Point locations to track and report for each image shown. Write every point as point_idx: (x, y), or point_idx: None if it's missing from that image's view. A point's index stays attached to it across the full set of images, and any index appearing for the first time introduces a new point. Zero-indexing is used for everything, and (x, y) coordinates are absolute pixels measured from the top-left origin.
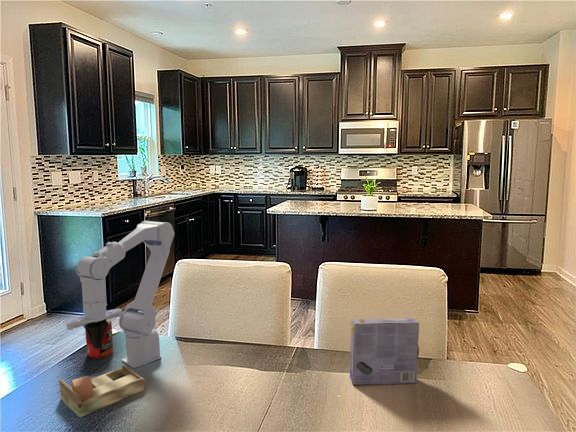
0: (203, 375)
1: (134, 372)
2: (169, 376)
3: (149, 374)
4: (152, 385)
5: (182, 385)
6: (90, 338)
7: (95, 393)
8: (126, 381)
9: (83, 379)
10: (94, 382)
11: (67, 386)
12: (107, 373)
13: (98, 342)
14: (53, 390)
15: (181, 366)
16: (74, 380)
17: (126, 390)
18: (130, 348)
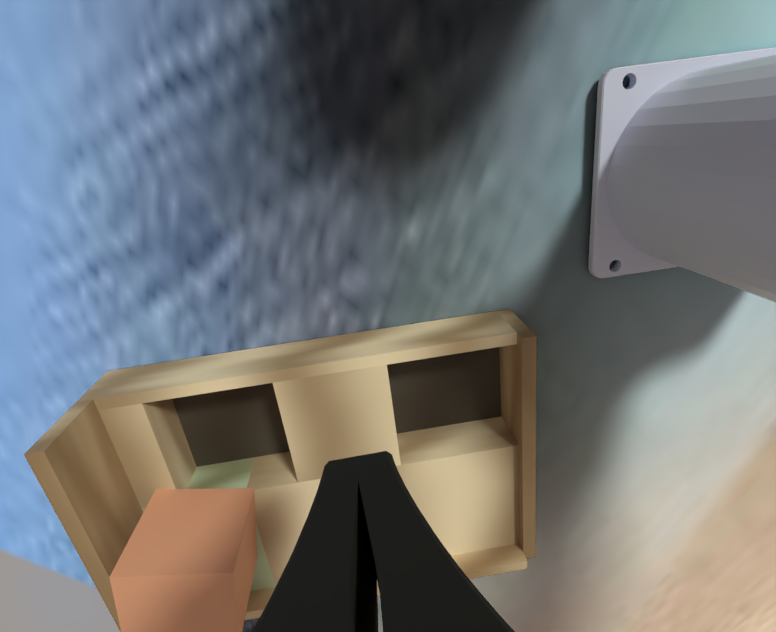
0: (754, 536)
1: (532, 467)
2: (658, 467)
3: (607, 393)
4: (553, 497)
5: (640, 559)
6: (289, 561)
7: (274, 536)
8: (455, 508)
9: (191, 604)
10: (299, 424)
11: (90, 567)
12: (405, 357)
13: (376, 627)
14: (57, 224)
15: (767, 410)
16: (128, 587)
17: None
18: (702, 241)
